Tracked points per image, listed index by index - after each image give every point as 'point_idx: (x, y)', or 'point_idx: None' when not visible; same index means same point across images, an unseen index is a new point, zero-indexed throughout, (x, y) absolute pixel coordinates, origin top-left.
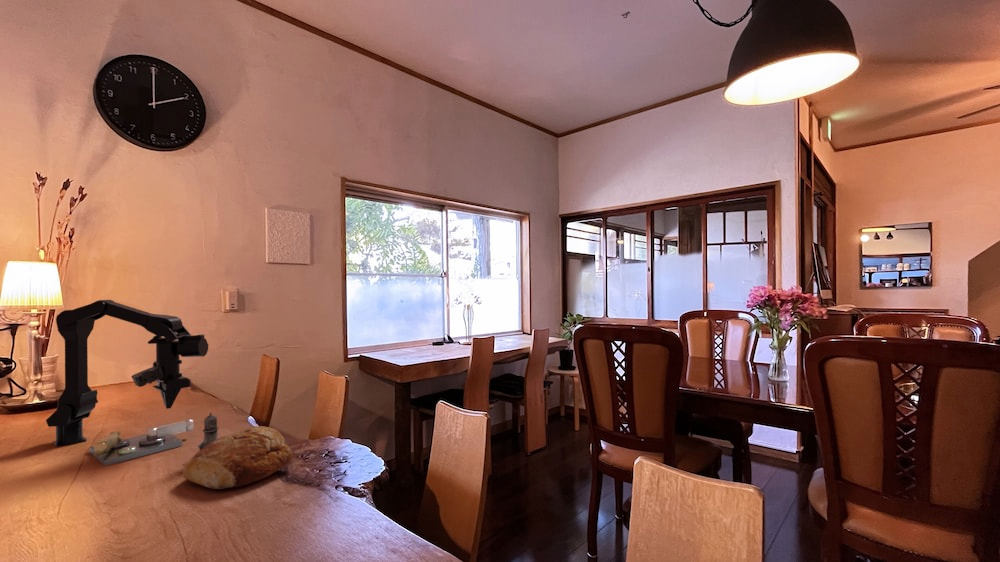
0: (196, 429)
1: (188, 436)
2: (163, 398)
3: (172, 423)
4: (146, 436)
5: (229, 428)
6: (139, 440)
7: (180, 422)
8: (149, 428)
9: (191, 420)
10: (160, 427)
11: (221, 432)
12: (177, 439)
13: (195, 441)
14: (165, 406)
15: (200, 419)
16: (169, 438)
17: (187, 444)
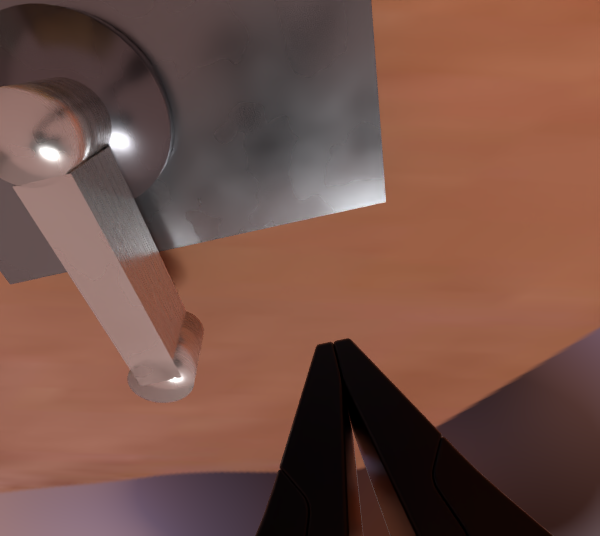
0: (336, 333)
1: (221, 298)
2: (382, 444)
3: (135, 298)
4: (292, 85)
5: (232, 430)
6: (198, 22)
7: (133, 342)
8: (45, 119)
9: (148, 394)
10: (34, 213)
11: (185, 407)
12: (54, 262)
13: (88, 319)
14: (347, 351)
15: (518, 354)
16: None
17: (46, 286)
